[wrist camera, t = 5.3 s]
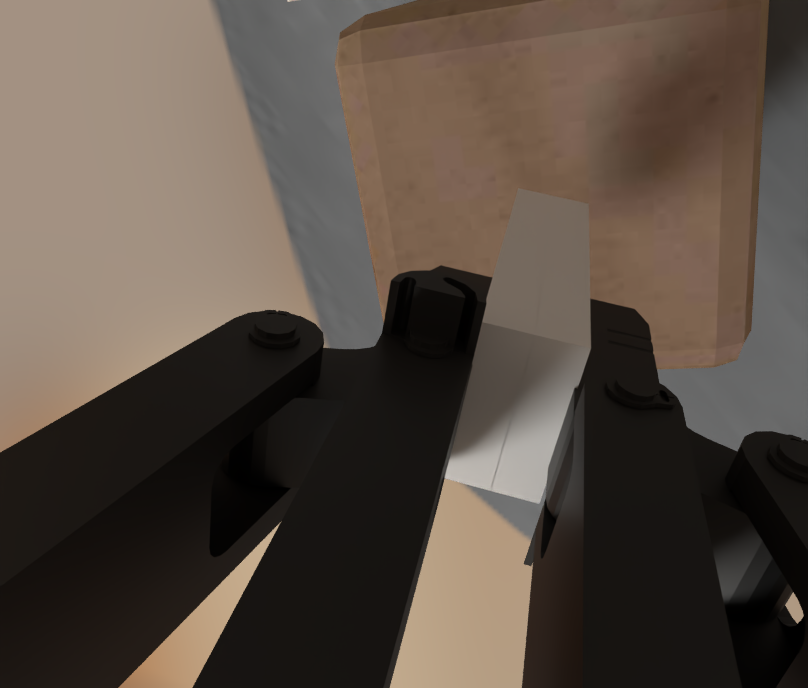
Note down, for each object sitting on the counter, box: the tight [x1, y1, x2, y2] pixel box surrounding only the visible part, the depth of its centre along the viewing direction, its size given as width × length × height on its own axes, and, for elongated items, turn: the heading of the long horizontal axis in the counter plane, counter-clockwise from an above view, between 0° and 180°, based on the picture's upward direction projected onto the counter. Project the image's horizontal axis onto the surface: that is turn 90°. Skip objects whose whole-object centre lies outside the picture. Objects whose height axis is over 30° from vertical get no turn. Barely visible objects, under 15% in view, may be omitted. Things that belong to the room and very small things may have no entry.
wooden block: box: [335, 0, 769, 369], centre depth 27 cm, size 10×10×20 cm
